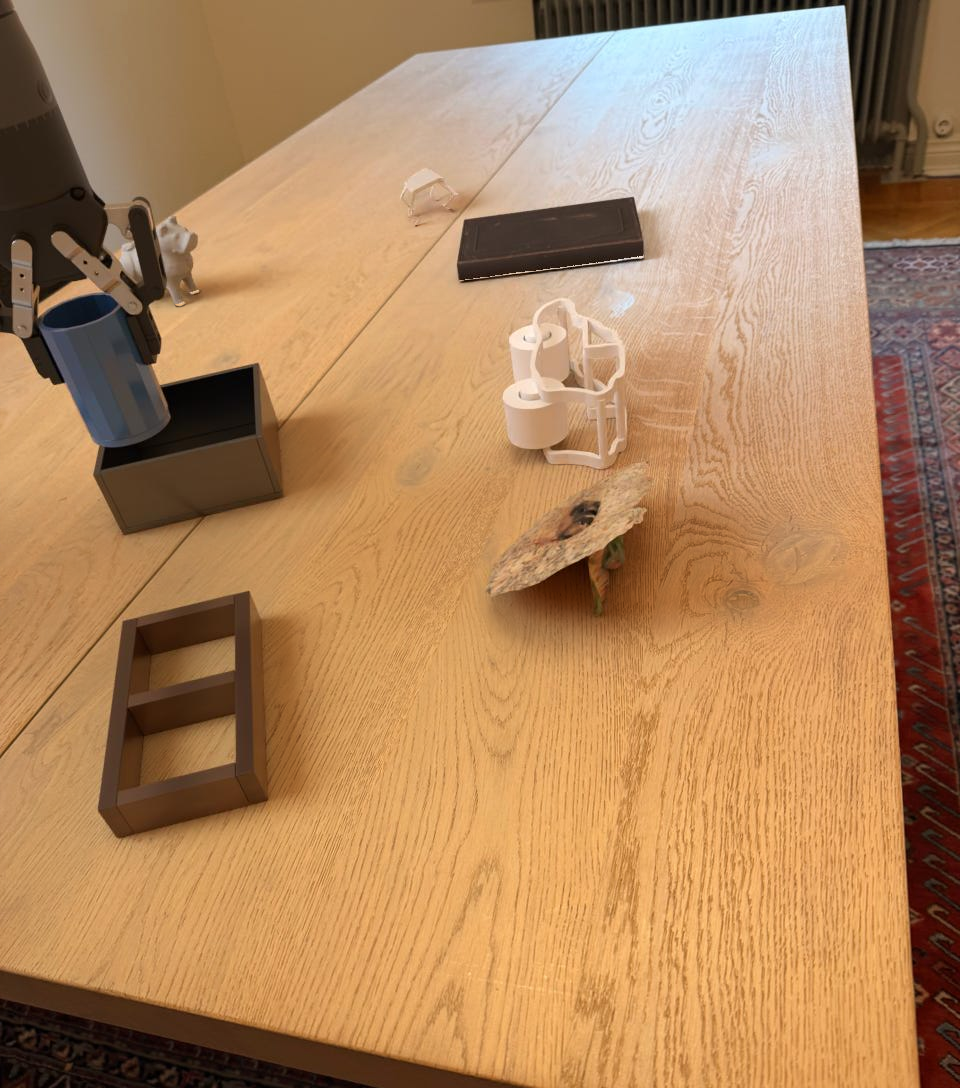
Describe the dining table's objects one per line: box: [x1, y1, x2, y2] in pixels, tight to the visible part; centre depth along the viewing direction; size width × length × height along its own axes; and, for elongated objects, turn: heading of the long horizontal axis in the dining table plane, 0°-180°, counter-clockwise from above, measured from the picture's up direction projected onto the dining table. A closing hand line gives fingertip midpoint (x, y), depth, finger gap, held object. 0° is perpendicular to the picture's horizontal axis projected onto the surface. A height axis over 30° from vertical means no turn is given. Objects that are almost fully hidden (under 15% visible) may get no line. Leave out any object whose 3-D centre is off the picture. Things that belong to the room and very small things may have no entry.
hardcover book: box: [456, 196, 645, 281], centre depth 121 cm, size 16×23×2 cm
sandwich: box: [485, 460, 655, 617], centre depth 71 cm, size 18×14×8 cm
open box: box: [92, 362, 284, 536], centre depth 91 cm, size 15×15×7 cm
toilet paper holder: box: [502, 297, 628, 470], centre depth 88 cm, size 20×11×7 cm, turn 176°
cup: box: [36, 291, 171, 447], centre depth 67 cm, size 6×6×9 cm
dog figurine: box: [118, 214, 199, 305], centre depth 125 cm, size 5×13×11 cm, turn 70°
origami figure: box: [399, 166, 459, 223], centre depth 138 cm, size 12×8×5 cm
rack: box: [97, 590, 269, 839], centre depth 67 cm, size 10×19×3 cm, turn 12°
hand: (106, 369), depth 67 cm, fingers closed on cup, 6 cm apart
